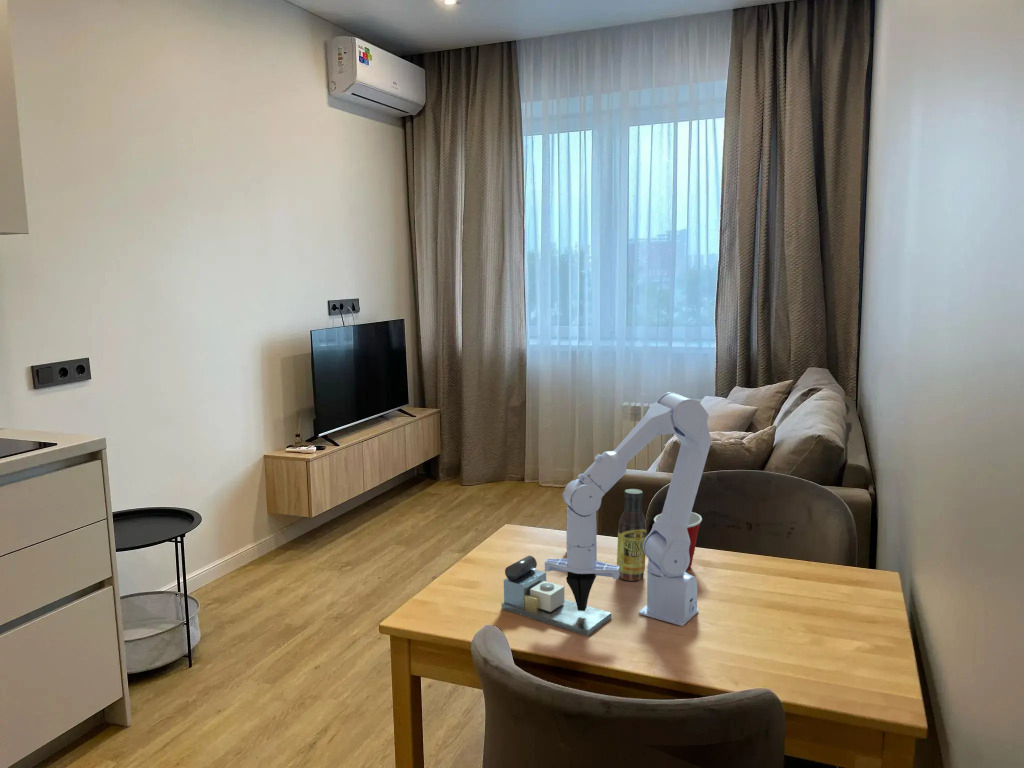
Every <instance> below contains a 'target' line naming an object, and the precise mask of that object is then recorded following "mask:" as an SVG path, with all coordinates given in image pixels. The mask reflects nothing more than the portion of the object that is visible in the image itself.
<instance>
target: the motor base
mask: <svg viewBox="0 0 1024 768" xmlns="http://www.w3.org/2000/svg"><path fill="white" fill-rule="evenodd" d="M537 564H538V563H537V560H536V558H535V557H534V556H533V555H527V556H525V557H523V558H522V559H519V560H518V561H516V562H514V563H512V564H510V565H507V567H506V568H505V569H504V574H505V576H506V578H504V579H503V602H501V610H504V611H507V612H510V613H514V614H516V613H517V614H516V615H519V614H521V615H520V616H522V615H523V617H525V616H526V617H525V618H528V617H529V619H531V618H532V620H534V621H535V620H536V621H538V620H539V621H538V622H540V623H544V624H547V623H548V625H550V626H553V625H554V627H557V628H560V629H562V630H566V629H567V630H566V631H569V630H570V631H569V632H572V631H573V633H575V632H576V633H575V634H578V633H579V635H581V634H582V635H581V636H584V637H589V636H590V635H592V634H593V633H594V632H596V631H597V630H598V629H600V628H601V627H602V626H604V625H605V624H606V623H608V622H610V620H612V612H610V611H606V610H602V609H600V608H596V607H594V606H590V605H587V608H586V609H585V611H578V609H577V604H576V601H574V600H573V601H572V600H569V599H566V598H564V603H563V604H562V605H560V606H559V607H557V608H556V609H554V610H553V611H551V612H549V611H546V610H543V609H540V608H539V598H538V597H535V596H531V595H530V589H531V588H533V587H534V586H536V585H538V584H539V583H541V582H543V581H547V571H542V570H539V569H536V568H537Z"/></svg>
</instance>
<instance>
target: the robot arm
mask: <svg viewBox="0 0 1024 768" xmlns="http://www.w3.org/2000/svg"><path fill="white" fill-rule="evenodd" d="M708 419H709V413H708V412H707V409H705V408H704V406H703V405H702V403H701V402H699V401H698V400H696V399H694V398H689V397H687V396H683V395H681V394H679V393H677V392H674V391H668V392H665V393H663V394H662V395H661V396H659V398H658V399H657V401H655V402H653V403H652V404H651V405H650V406H649V408H648V409H647V411H646V413H645V414H644V416H643V417H642V418H641V419H640V420H639V421H638V423H637V424H635V426H634V427H633V428H632V429H631V430H630V432H629V433H628V434H627V435H626V436H625V438H623V439H622V441H621V442H620V443H619V444H618V446H617V447H616V448H615V449H614V450H608V451H604V452H602V453H601V454H600V453H597V454H596V455H595V456H594V460H595V461H593V463H591V465H589V467H587V469H586V470H585V471H584V472H583V473H581V472H580V473H579V474H578V475H577V476H576V477H577V478H576V479H575V480H574V479H572V480H571V481H570V482H568V483H567V484H566V486H565V487H564V491H563V492H561V493H562V495H561V496H562V500H563V501H564V503H565V504H566V505H567V506H566V509H567V532H566V558H546V559H545V560H544V572H551V571H553V572H559V573H560V572H563V573H567V576H566V578H565V580H566V583H567V585H568V587H569V588H570V590H571V592H572V595H573V597H574V600H575V602H576V604H577V609H578V611H585V609H586V608H587V606H588V601H589V596H590V592H591V590H592V587H593V584H594V582H595V580H596V578H597V576H598V577H607V578H612V579H613V580H619V579H620V578H619V576H620V566H617V564H616V565H615V564H610V563H607V562H603V561H599V560H597V554H598V553H597V551H598V550H597V546H598V545H597V511H599V510H600V508H601V504H602V498H603V497H604V496H605V494H607V493H608V492H609V491H610V490H611V489H612V488H613V487H614V485H616V483H617V482H618V481H619V480H621V479H622V477H623V476H624V475H626V473H627V467H628V466H627V465H628V462H629V461H631V459H633V458H634V457H635V456H636V455H637V454H639V452H641V450H643V449H644V448H645V447H646V446H647V445H648V444H650V443H651V441H652V440H654V439H655V438H656V437H658V436H661V435H664V436H665V435H672V434H674V435H675V436H676V438H677V439H678V440H679V442H680V447H679V451H678V454H677V459H676V462H675V465H674V468H673V473H672V476H671V479H670V483H669V487H668V490H667V494H666V498H665V501H664V505H663V508H662V511H661V513H662V515H661V518H660V519H659V520H658V521H656V522H655V521H654V523H652V526H651V527H652V528H651V530H650V532H649V533H648V534H646V538H645V540H644V543H643V551H644V553H645V557H647V558H648V561H647V562H648V563H647V567H646V569H647V571H646V572H647V576H646V580H647V581H646V582H647V583H646V585H647V586H646V587H647V588H646V590H647V591H646V605H645V606H644V607H642V608H641V609H639V611H638V614H639V615H641V616H645V617H648V618H652V619H656V620H660V621H664V622H667V623H670V624H673V625H677V626H680V627H683V626H684V625H686V624H687V622H689V621H690V620H691V619H693V617H694V616H696V614H697V613H699V609H698V580H697V578H696V576H693V575H692V574H690V573H688V572H687V571H686V569H687V568H688V566H689V563H690V556H689V546H690V538H689V534H688V531H687V526H688V522H689V519H690V515H691V512H693V507H694V504H695V501H696V497H697V494H698V490H699V486H700V483H701V480H702V476H703V473H704V469H705V465H706V463H707V462H706V461H707V457H708V454H709V451H710V448H711V445H712V440H711V439H712V438H711V434H710V429H709V424H708Z"/></svg>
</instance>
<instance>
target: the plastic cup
mask: <svg viewBox="0 0 1024 768" xmlns="http://www.w3.org/2000/svg"><path fill="white" fill-rule="evenodd" d="M661 515H662V512H661V513H660V514H657V515H655V517H654V518H653V521H654V523H655V522H656V521H658V520H659V519H660V518H661ZM702 521H703V518H702V515H700V514H698V513H696V512H693V511H692V512H691V515H690V519H689V522H688V526H687V531H688V534H689V538H690V546H689V556H690V563H689V566H688V568H687V569H686V571H685V572H687V571H688V570H690V569H691V567H692V565H693V559H694V555H695V550H696V546H697V540H698V534H699V529H700V525H701V522H702Z"/></svg>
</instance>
